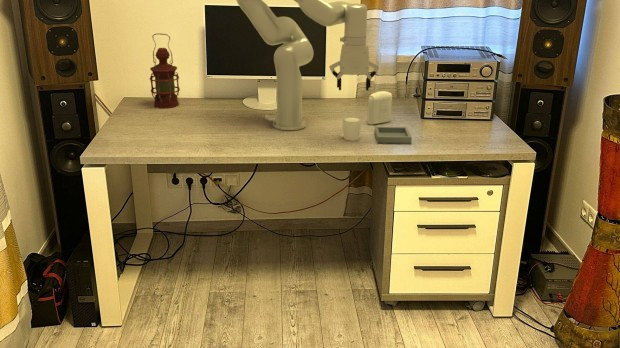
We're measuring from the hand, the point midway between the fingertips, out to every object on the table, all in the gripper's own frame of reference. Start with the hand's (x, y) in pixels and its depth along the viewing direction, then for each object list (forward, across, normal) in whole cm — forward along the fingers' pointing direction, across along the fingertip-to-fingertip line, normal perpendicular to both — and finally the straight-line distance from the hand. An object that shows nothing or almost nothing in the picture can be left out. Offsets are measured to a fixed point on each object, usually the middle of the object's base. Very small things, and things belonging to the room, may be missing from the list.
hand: (353, 89), depth 225 cm
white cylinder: (+18, 0, 0) cm, 18 cm away
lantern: (+18, -76, +41) cm, 88 cm away
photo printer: (+18, +12, +20) cm, 29 cm away
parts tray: (+18, +15, 0) cm, 23 cm away
